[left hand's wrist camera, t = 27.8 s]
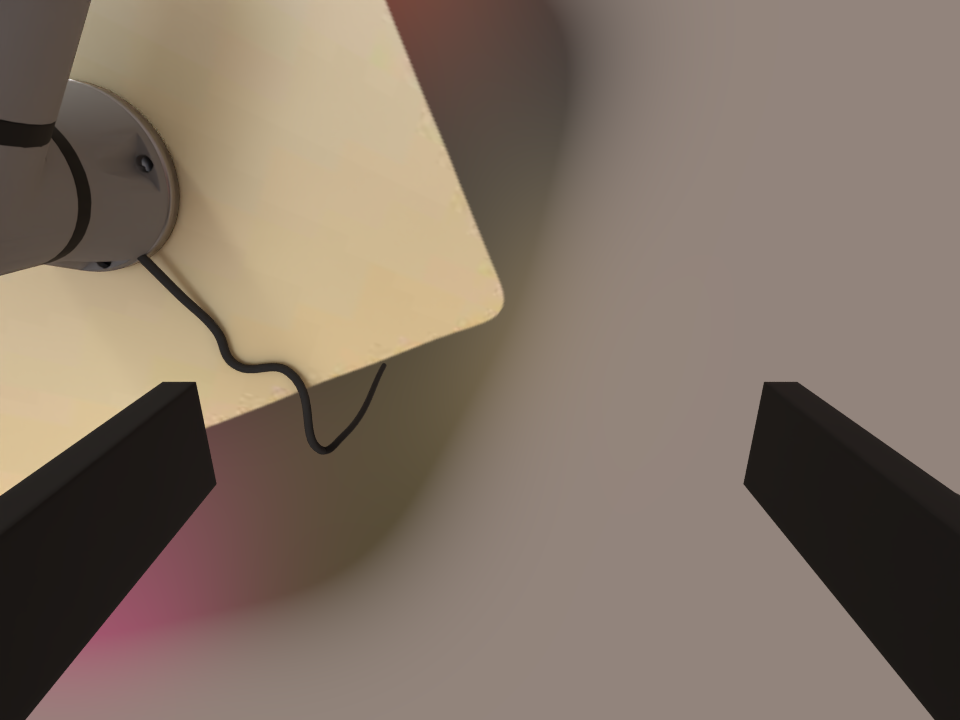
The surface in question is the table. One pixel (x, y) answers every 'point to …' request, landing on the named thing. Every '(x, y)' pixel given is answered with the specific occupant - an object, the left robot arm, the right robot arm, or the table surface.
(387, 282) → the table surface
